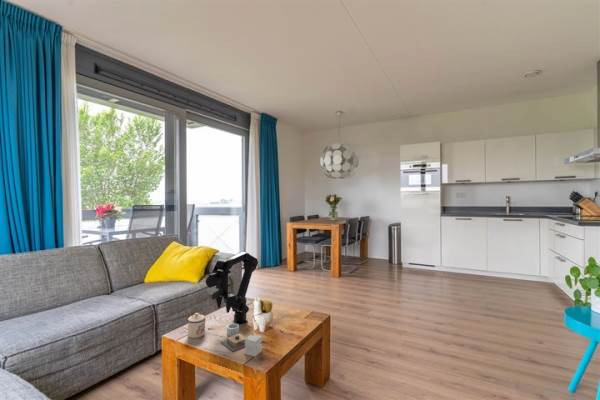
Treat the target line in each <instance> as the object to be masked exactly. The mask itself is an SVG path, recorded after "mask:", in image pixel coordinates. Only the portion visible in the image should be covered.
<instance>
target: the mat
mask: <svg viewBox="0 0 600 400" xmlns="http://www.w3.org/2000/svg"><path fill="white" fill-rule="evenodd" d="M240 334H241V333H240ZM241 335H243V334H241ZM220 343H221V344H222V345H223V346H224V347H226V348H227V349H228V350H230V351H231V352H237V351H239V350H242V349H245V343H244V344H242V345H239V346H237V347H234V346H232V345H231V344H229V343H228V342H227V339H224V340H221V341H220Z"/></svg>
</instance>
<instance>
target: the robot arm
mask: <svg viewBox="0 0 600 400" xmlns="http://www.w3.org/2000/svg"><path fill="white" fill-rule="evenodd" d="M240 262H242V263H243V269H244V271H243V275H242V278H241V281H240V284H239V288H238V291H237V294H236V295H235V294H233V293H231V290H229V287H230V286H231V284H230V283H229V274H231V273H232V270H231V269H232V267H233V266H234V265H236V264H238V263H240ZM258 265H259V261H258V258H257V257H254V256H253V255H251V254H250V253H248V252H245V251H242V252H240V253H238V254H236V255H233V256H230V257H229V258H221V259H218V260H216V263H215V265H214V267H213V269H212V271H211V273H210V274H208V276H207V277H206V278H205V279H206V280H205V285H206V287H208V288H213V289H211V290H210V291H208V292H207V295H208V298H209V299H211V300H212V301H214V300H215V302H216V303H215V304H216V306H217V309H220V308H221V306H222V303H224V304H225V309H226V310H225V311H226V313H227V314H229V313H230V310H231V309H232V312H234V315H233V320H232V321H233V323H234V324H239V325H242V324H244V323H248V319H247V313H249V310H250V307H249V306H248V305H247V297H246V295H247V292H248V289H249V285H250V281H251V278H252V275H253V272H255V271H256V269H257V267H258Z"/></svg>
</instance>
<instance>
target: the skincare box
mask: <svg viewBox="0 0 600 400" xmlns="http://www.w3.org/2000/svg"><path fill="white" fill-rule="evenodd" d="M262 351H263V336H262V335H258V334H254V333H251V334H250V335H248V336H247V337H246V339H245V347H244V354H245V355H247V356H250V357H251V356H252V357H257V356H258V355H259V354H260V353H261V352H262Z"/></svg>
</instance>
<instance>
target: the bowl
mask: <svg viewBox="0 0 600 400" xmlns="http://www.w3.org/2000/svg"><path fill="white" fill-rule="evenodd" d="M239 333H240V324H237V323H230V324H228V325H227V326H226V335H227V336H229V337H231V336H234V335H236V334H239Z"/></svg>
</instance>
